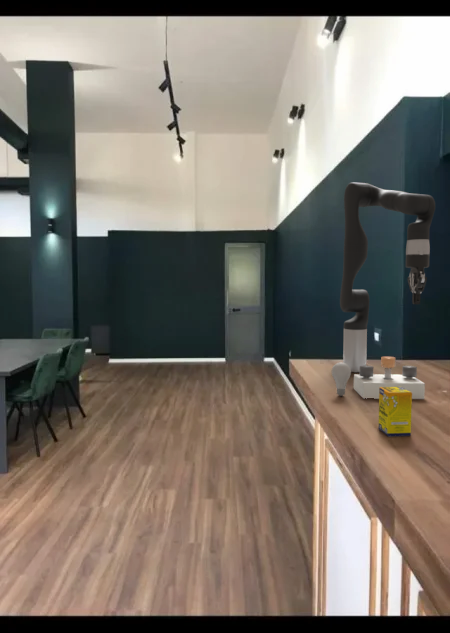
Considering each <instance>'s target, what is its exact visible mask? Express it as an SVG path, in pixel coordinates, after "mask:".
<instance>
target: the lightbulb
mask: <svg viewBox="0 0 450 633" xmlns="http://www.w3.org/2000/svg"><path fill="white" fill-rule="evenodd" d="M351 375H352V372H351V369H350V367H349V366H348V365H347V364H345V363H343V361H342V362H340V361H339V362H336V363H335V364H334V365H333V366H332V368H331V376H332V378H333V380H334V382H335V389H336V394H337V396H339V397H343V396H344V395H346V388H347V383H348V380H350V377H351Z"/></svg>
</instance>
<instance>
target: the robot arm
mask: <svg viewBox="0 0 450 633" xmlns="http://www.w3.org/2000/svg"><path fill="white" fill-rule="evenodd" d="M343 204H344V238H343V239H344V240H343V263H342V264H343V268H342V269H343V270H342V278H341V279H342V280H341V287H340V293H339V294H340V297H339V306H340V309H341V312H343V313H355V315H354V316H353V317H352V318H349V319H347V320H345V321H344V322H343V351H342V352H343V354H342V358H343V359H342V363H345V364H347V365H348V366H349V367H350V369H351V373H359V371H360V366H363V365H367V352H368V350H367V348H368V347H367V346H368V344H367V342H368V339H367V338H368V336H367V335H368V333H367V332H368V323H369V312H370V295H369V293H368V290H366V289H353V287H354V281H355V278H356V276H357V275H358V273H359V271H360V270H361V268H362V267H363V265H364V264H365V262H366V260H367V258H368V248H369V245H368V244H369V241H368V237H367V235H366V232H365V230H364V228H363V226H362V224H361V222H360V214H359V213H360V212H359V211H360V210H359V208H366V207H375V206H376V207H382V208H384V209H386V210H388V211H392V212H397V213H398V212H399V213H402V214H405V215H410V216H417V217H416V220H415V222H414V221H413V222H411V223H409V224H408V226H407V232H406V233H407V236H406V239H407V240H406V246H405V247H406V248H405V268H407V269H410V272H409V276H408V277H407V279H406V280H407V283H408V286H409V291H410V292H411V294H412V300H411V302H412V303H411V304H413V305H421V294H422V292H424V290H425V287H426V284H427V280H428V277H427V276H426V273H425V268H429V267H430V253H431V252H430V250H431V248H430V246H431V245H430V227H431V224H432V221H433V218H434V214H435V211H436V201H435V199H434V197H433V196H432V195H430V194H422V193H421V194H420V193H409V192H406V191H401V190H393V189H392V190H391V189H383V188H380V187H378V186H374V185H373V184H370V183H368V182H366V183H365V182H354V181H353V182H349V183H348V184H347V185H346V187H345V190H344V195H343Z"/></svg>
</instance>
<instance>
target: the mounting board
mask: <svg viewBox="0 0 450 633" xmlns="http://www.w3.org/2000/svg"><path fill="white" fill-rule="evenodd" d="M425 386H426V383H425V382H423V381H422V380H420V379H418V378H416V377H413V380H406V377H405V376H402V373H401V374H392V373H391V380H385V373H383V374H382V373H381V374H378V373H377V374H376V373H373V377H369V379H363V377H362V376H360V375H359V374H358V373H357V374H356V373H355V374H353V390H355V392H356V393H357V394H358V395H359V396H360V397H362V399H365V398H366V399H367V398H374V399H375V400H376V399H377V400H379V387H402V388H404V389H406V390H408V391H410V392H412V400H425V390H426V389H425ZM367 400H368V399H367Z"/></svg>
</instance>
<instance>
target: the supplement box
mask: <svg viewBox="0 0 450 633" xmlns="http://www.w3.org/2000/svg"><path fill="white" fill-rule="evenodd" d="M412 402H413V399H412V392H410V391H408V390H406V389H404V388H402V387H379V399H378V430H379V431H381V432H382V433H384V435H385V436H387V437H388V438H391V437H410V436H412V408H413V407H412V406H413V403H412Z"/></svg>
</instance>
